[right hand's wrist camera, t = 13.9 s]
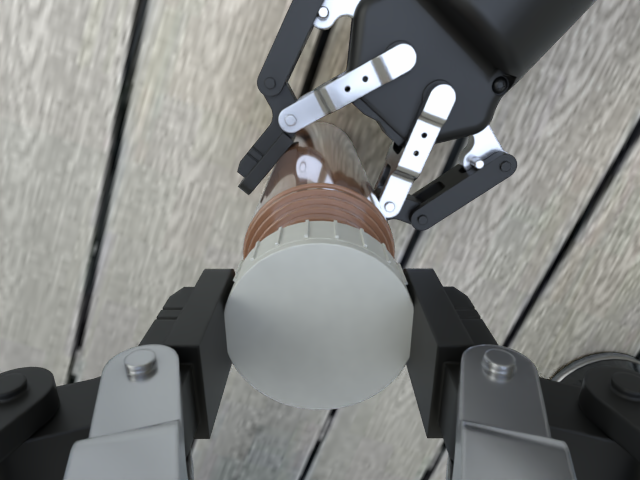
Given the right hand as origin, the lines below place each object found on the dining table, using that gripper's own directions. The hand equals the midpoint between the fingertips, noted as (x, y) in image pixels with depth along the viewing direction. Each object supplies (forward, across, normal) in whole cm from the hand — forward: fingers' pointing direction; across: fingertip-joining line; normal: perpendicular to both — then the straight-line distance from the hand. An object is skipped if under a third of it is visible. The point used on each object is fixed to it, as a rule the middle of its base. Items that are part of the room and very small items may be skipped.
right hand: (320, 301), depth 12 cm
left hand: (+13, -2, -2) cm, 13 cm away
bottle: (+19, 0, 0) cm, 19 cm away
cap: (-1, 0, 0) cm, 1 cm away
